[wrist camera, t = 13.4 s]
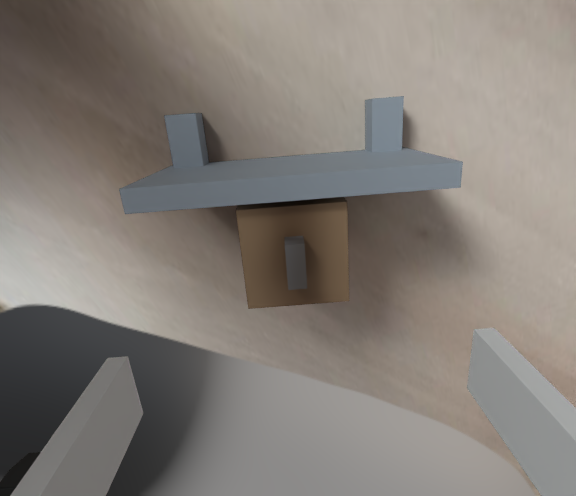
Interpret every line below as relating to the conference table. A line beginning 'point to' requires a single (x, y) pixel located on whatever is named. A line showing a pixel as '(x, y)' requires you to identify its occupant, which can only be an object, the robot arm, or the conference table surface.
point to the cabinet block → (294, 252)
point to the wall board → (290, 169)
